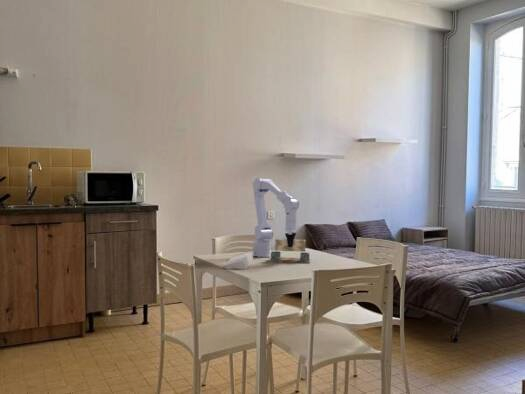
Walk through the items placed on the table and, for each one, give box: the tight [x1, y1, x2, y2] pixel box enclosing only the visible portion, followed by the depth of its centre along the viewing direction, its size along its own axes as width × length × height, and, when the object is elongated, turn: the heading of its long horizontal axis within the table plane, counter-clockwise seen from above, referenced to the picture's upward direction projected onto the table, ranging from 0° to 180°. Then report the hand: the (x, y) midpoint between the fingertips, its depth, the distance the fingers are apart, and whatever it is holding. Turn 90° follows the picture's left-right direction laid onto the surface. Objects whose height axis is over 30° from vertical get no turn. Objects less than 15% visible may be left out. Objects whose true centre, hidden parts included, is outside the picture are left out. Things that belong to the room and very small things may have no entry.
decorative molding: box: [223, 250, 254, 270], centre depth 263 cm, size 34×5×10 cm
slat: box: [274, 238, 307, 253], centre depth 274 cm, size 16×2×6 cm, turn 83°
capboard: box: [269, 250, 311, 264], centre depth 274 cm, size 21×11×4 cm, turn 83°
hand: (290, 246), depth 274 cm, fingers closed on slat, 2 cm apart
